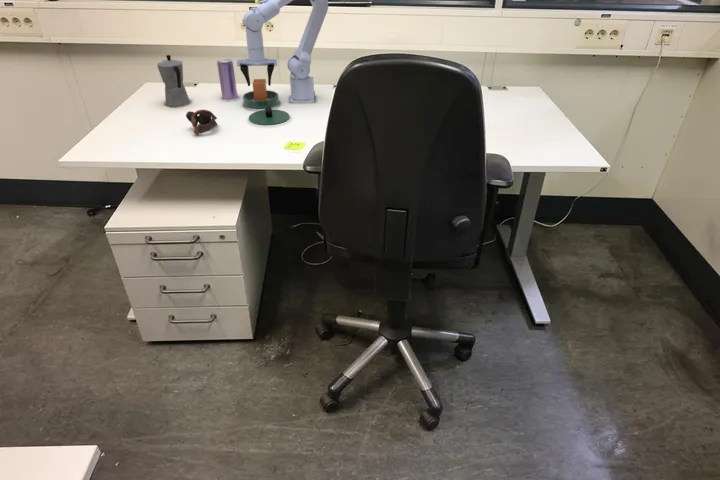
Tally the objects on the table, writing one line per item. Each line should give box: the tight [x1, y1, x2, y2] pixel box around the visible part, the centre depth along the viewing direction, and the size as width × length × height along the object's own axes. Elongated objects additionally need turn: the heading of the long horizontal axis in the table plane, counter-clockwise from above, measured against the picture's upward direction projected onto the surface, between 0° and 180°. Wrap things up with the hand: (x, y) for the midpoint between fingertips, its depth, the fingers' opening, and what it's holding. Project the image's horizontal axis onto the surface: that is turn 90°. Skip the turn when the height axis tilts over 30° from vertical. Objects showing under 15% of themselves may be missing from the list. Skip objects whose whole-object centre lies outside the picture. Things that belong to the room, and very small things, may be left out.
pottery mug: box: [185, 109, 219, 136], centre depth 170 cm, size 12×10×8 cm
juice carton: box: [252, 78, 268, 101], centre depth 191 cm, size 4×6×8 cm
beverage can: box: [216, 57, 238, 100], centre depth 195 cm, size 6×6×15 cm
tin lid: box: [248, 105, 290, 126], centre depth 179 cm, size 14×14×5 cm
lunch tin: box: [242, 89, 280, 110], centre depth 192 cm, size 13×13×4 cm
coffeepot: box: [156, 54, 190, 108], centre depth 188 cm, size 15×9×18 cm, turn 36°
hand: (259, 85), depth 189 cm, fingers open, 7 cm apart
